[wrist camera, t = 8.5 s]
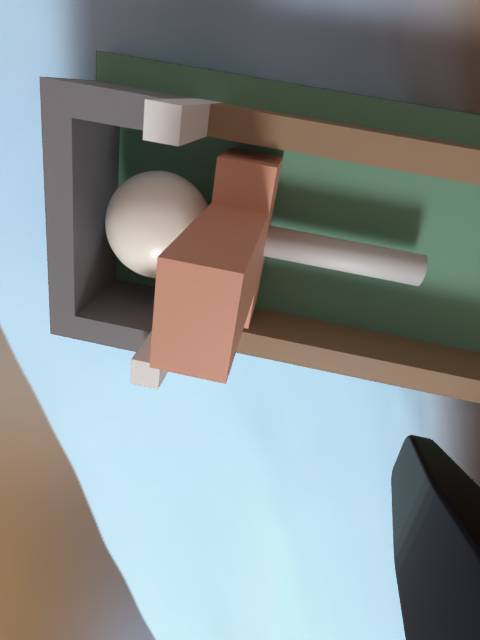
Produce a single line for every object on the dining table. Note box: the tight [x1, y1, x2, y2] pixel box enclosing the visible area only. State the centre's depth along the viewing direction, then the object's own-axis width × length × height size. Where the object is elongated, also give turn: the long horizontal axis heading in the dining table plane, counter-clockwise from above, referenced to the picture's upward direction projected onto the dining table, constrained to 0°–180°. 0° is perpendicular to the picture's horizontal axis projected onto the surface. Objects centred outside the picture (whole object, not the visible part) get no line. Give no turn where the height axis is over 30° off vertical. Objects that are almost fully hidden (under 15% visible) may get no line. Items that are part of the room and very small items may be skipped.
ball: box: [105, 171, 208, 278], centre depth 18 cm, size 4×4×4 cm
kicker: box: [150, 148, 428, 384], centre depth 15 cm, size 8×6×9 cm
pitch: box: [40, 51, 480, 403], centre depth 17 cm, size 24×11×7 cm, turn 82°
